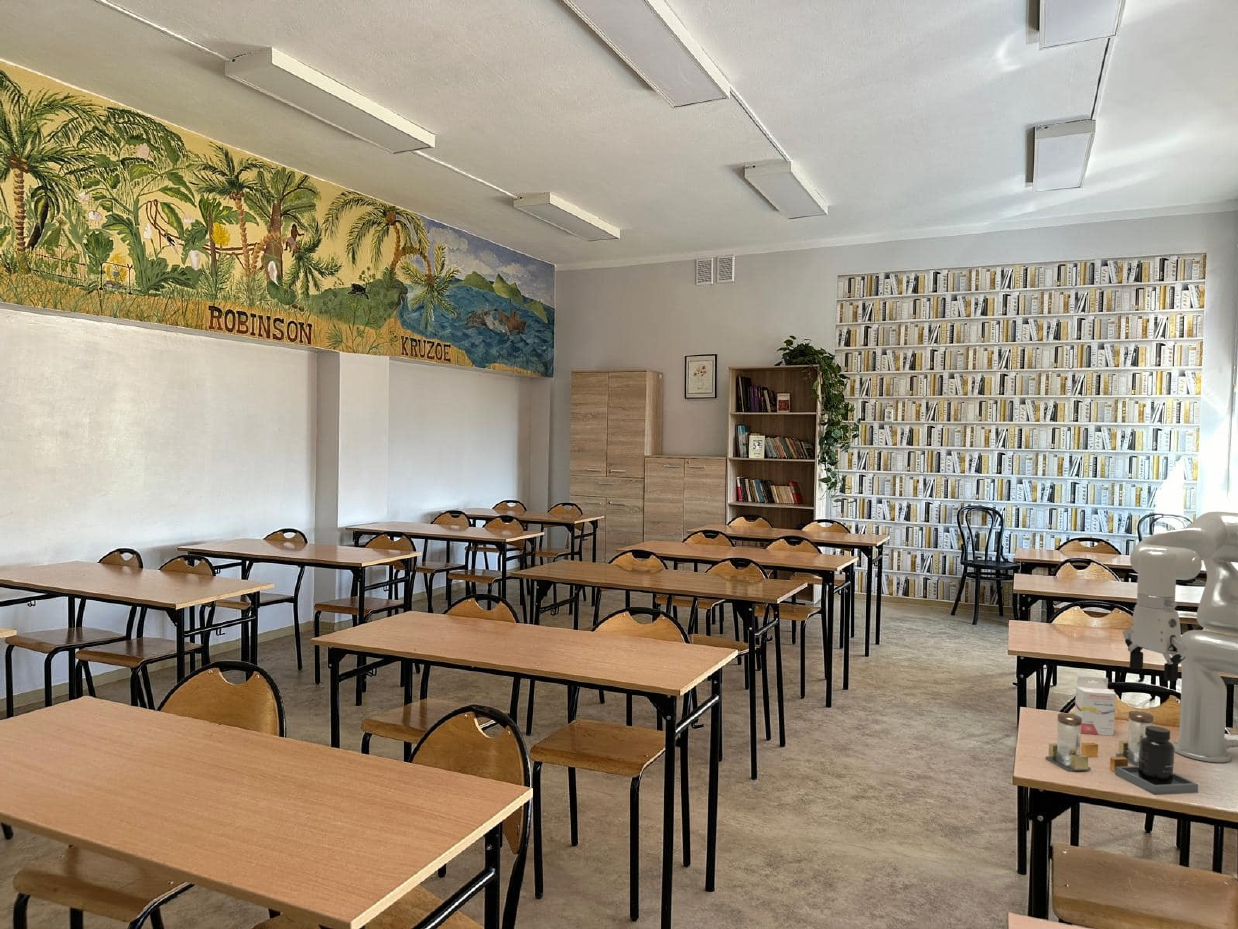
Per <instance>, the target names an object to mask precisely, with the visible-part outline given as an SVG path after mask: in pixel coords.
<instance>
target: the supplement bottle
mask: <svg viewBox="0 0 1238 929" xmlns="http://www.w3.org/2000/svg"><path fill="white" fill-rule="evenodd" d="M1145 735H1146V737H1144V738H1142V739H1141V740H1140V747H1139V765H1138V776H1139V777H1140V778H1142V779H1144V780H1146V781H1148V782H1150V783H1153V784H1158V785H1167V784H1171V783H1172V782H1173V773H1174V764H1175V751H1174V746H1173V744H1172V743H1173V742H1171V741H1170V740H1171V731H1170V730H1169V729H1168V728H1165V727H1161V726H1156V725H1153V726H1146V730H1145Z"/></svg>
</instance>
